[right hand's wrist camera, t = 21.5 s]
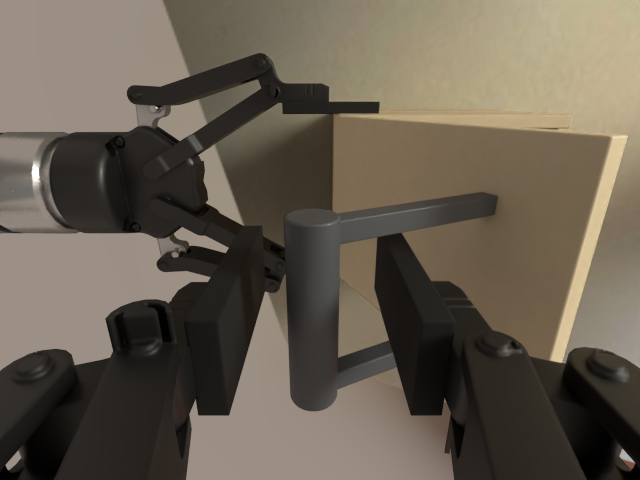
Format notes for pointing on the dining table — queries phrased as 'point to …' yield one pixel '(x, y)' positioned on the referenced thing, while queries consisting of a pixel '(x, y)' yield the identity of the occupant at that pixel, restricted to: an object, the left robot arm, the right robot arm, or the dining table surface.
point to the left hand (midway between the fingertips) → (372, 183)
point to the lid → (447, 233)
